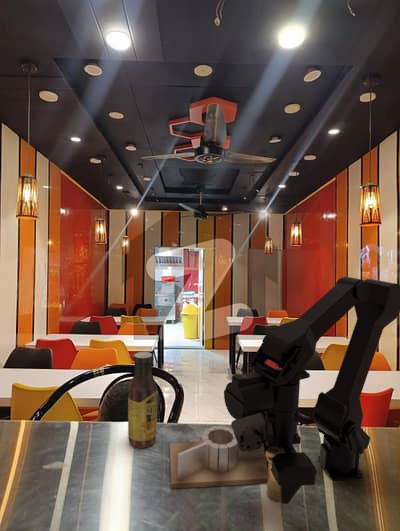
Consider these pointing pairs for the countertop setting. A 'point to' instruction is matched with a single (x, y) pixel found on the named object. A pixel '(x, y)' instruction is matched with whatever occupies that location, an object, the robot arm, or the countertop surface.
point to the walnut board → (241, 475)
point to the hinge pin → (272, 484)
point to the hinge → (214, 453)
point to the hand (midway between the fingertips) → (277, 484)
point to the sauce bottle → (142, 403)
